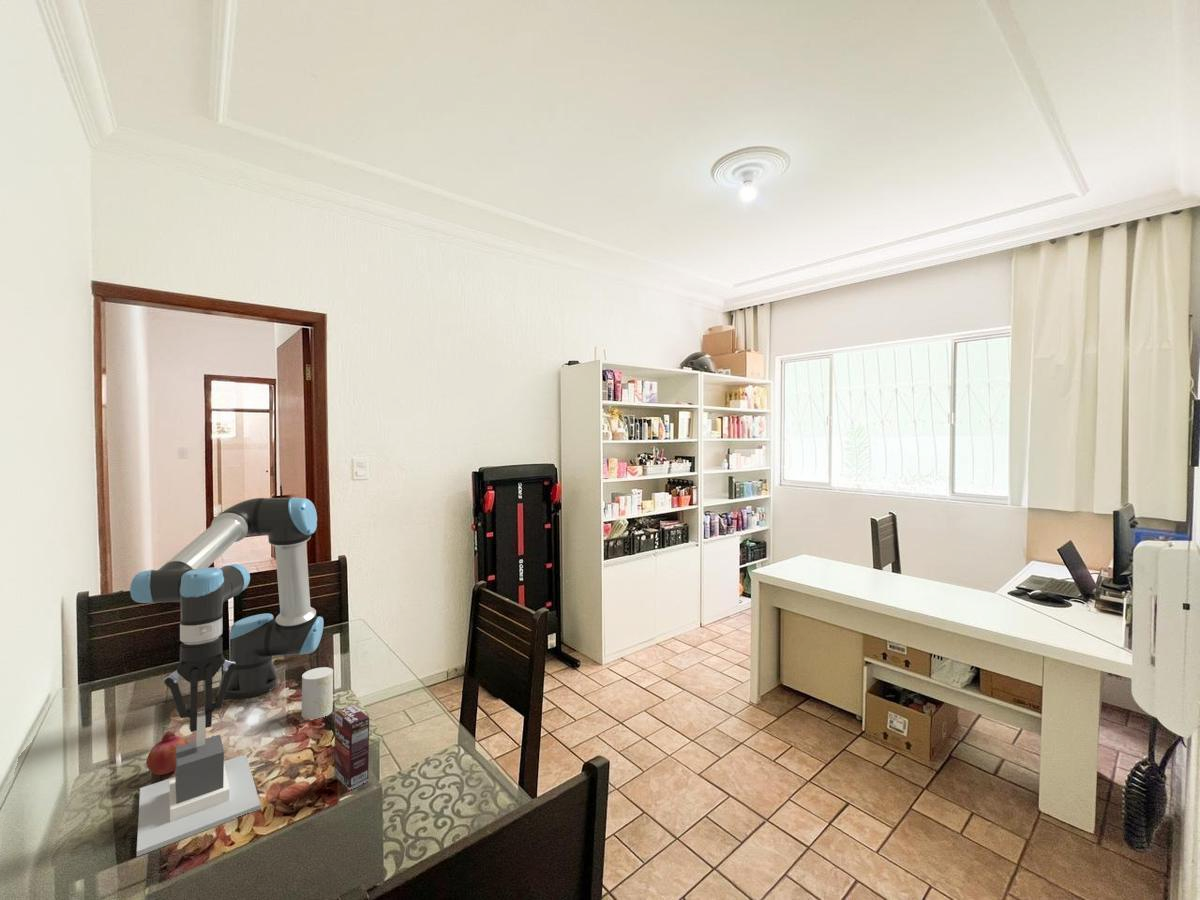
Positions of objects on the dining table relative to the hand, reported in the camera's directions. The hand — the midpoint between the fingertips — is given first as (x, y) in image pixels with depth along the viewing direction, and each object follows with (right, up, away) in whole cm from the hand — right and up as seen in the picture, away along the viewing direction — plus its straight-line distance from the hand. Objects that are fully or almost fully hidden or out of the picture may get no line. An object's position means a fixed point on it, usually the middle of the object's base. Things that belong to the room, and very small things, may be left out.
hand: (200, 742), depth 113 cm
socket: (0, -13, 0) cm, 13 cm away
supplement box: (+30, -14, +8) cm, 34 cm away
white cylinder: (+5, -13, +38) cm, 40 cm away
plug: (0, -12, 0) cm, 12 cm away
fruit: (-15, -13, +9) cm, 22 cm away
